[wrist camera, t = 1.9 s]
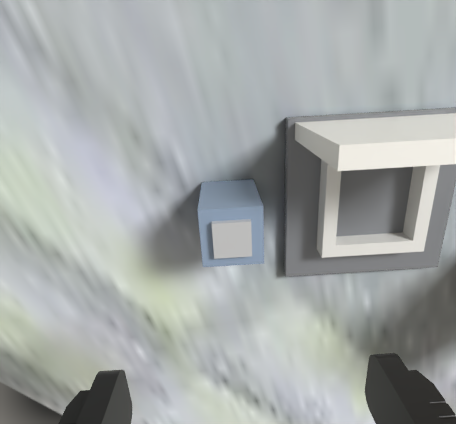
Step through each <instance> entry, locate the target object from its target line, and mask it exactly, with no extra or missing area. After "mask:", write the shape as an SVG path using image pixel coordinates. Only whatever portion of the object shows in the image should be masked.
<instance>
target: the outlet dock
mask: <svg viewBox="0 0 456 424" xmlns="http://www.w3.org/2000/svg"><path fill="white" fill-rule="evenodd" d="M455 183H456V108H439V109H422V110H405V111H388V112H371V113H354V114H337V115H320V116H303V117H286V157H285V240H284V272H285V275H286V276H301V275H317V274H333V273H349V272H365V271H381V270H397V269H413V268H429V267H438V262H439V258H440V253H441V248H442V244H443V239H444V234H445V230H446V225H447V220H448V216H449V211H450V206H451V201H452V197H453V192H454V187H455Z"/></svg>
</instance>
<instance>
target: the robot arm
mask: <svg viewBox="0 0 456 424" xmlns="http://www.w3.org/2000/svg"><path fill="white" fill-rule="evenodd" d="M365 395H366V400H367V404H368V407H369V410H370V412H371V414H372V416H373V418H374V421H375V423H376V424H456V416H455V413H454V412H453V411H452V409H451V408H450V406H449V405H448V404H446V402H445V399H444V398H443V397H442V395H441V394H440V392H439V391H438V390H437V388H436V387H435V386H434V384H433V383H432V382H430V381H429V380H428V379H427V378H426V377H424V376H423V375H422V374H421V373H419V372H418V371H417V370H410V371H408V369H407V368H406V366H405V365H404V363H403V362H402V360H401V359H400V357H399V356H398V355H397V354H395V353H390V354H374V355H370V357H369V363H368V370H367V378H366V385H365ZM131 419H132V401H131V397H130V393H129V388H128V384H127V379H126V375H125V372H124V370H112V371H100V372H98V374H97V375H96V377H95V380H94V382H93V384H92V387H91V389H90V390H85V391H80V392H79V393H78V394H77V395H76V397H75V398H74V399H73V400H72V401H71V402H70V403H69V404H68V406H67V407H66V409H65V411H64V413H63V416H62V418H61V420H60V422H59V424H131Z"/></svg>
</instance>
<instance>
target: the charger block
mask: <svg viewBox="0 0 456 424" xmlns="http://www.w3.org/2000/svg"><path fill="white" fill-rule="evenodd" d="M198 220H199V231H200V242H201V253H202V263H203V267H214V266H230V265H246V264H262V263H264V219H263V204H262V201H261V199H260V196H259V193H258V191H257V188H256V185H255V183H254V180H253V179H248V180H231V181H214V182H202V184H201V191H200V197H199V204H198Z"/></svg>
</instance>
